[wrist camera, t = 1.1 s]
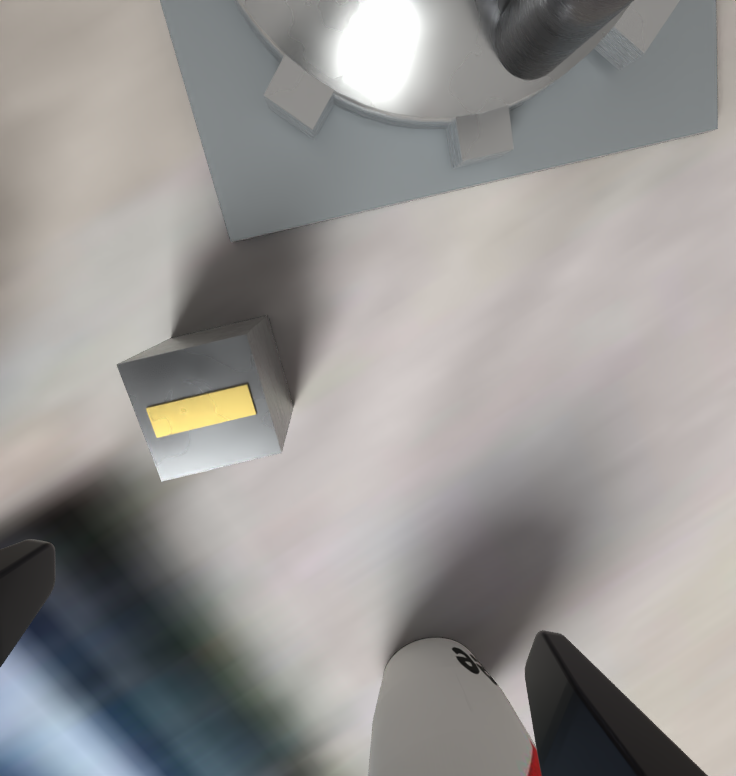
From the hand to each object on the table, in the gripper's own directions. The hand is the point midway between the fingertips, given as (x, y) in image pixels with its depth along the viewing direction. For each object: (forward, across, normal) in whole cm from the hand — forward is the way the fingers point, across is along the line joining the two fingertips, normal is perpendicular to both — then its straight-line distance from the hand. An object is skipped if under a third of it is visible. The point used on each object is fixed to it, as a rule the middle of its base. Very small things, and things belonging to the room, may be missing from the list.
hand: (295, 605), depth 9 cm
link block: (+12, +5, 0) cm, 13 cm away
